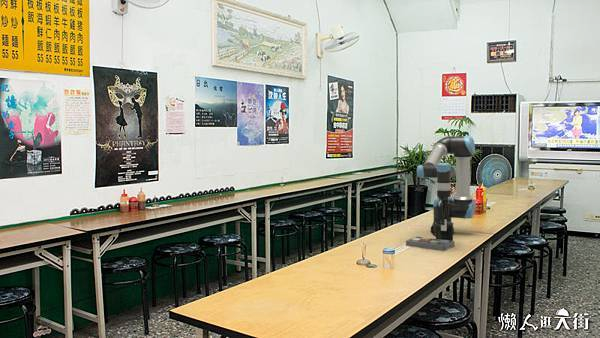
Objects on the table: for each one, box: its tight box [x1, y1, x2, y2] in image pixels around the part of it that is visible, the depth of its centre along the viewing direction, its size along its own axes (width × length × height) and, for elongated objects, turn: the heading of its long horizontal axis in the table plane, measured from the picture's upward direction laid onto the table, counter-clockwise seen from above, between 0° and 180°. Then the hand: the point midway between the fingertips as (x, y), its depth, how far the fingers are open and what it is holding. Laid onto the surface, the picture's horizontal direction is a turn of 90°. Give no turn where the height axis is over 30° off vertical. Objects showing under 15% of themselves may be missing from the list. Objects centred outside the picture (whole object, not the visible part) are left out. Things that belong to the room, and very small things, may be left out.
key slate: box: [439, 240, 449, 245], centre depth 301 cm, size 4×4×2 cm
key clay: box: [420, 236, 432, 243], centre depth 309 cm, size 4×4×2 cm
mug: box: [430, 221, 455, 241], centre depth 321 cm, size 11×15×12 cm
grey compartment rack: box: [405, 236, 455, 252], centre depth 307 cm, size 14×24×4 cm, turn 50°
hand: (443, 230), depth 301 cm, fingers closed
